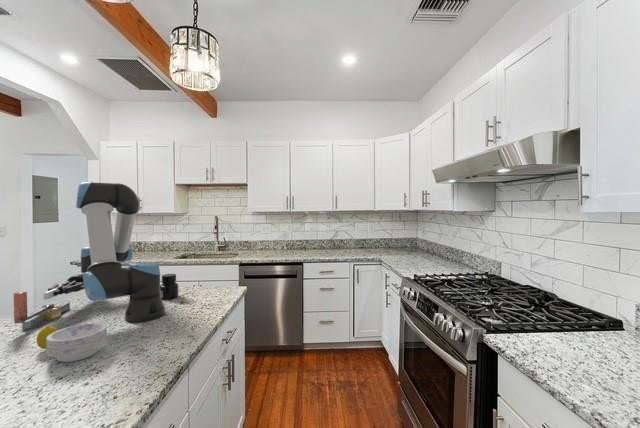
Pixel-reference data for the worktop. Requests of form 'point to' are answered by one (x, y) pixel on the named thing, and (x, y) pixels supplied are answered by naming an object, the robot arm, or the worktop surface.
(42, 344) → the lemon
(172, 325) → the worktop surface
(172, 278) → the ink bottle
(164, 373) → the worktop surface
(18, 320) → the lever
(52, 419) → the worktop surface
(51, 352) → the paper bowls
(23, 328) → the gray bar
